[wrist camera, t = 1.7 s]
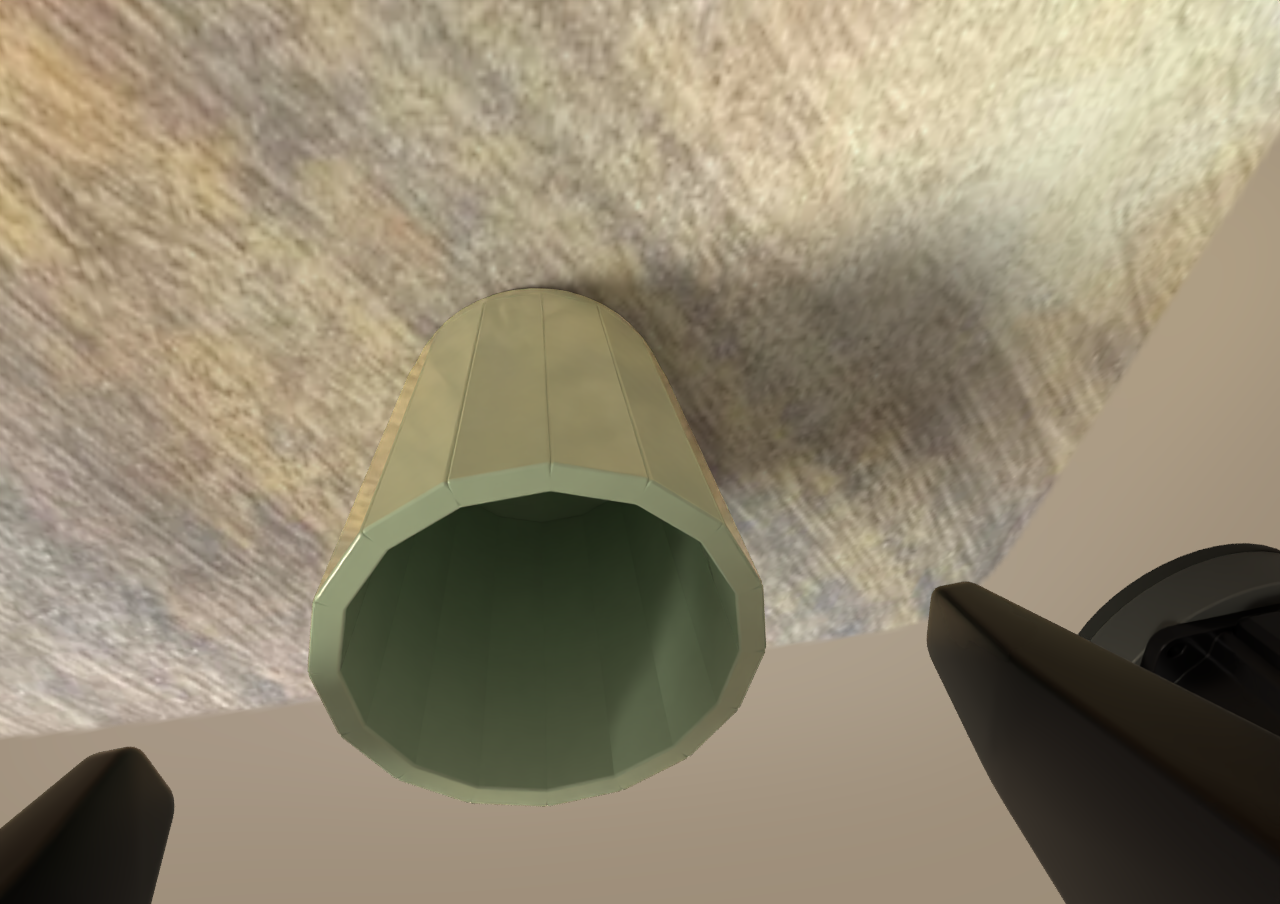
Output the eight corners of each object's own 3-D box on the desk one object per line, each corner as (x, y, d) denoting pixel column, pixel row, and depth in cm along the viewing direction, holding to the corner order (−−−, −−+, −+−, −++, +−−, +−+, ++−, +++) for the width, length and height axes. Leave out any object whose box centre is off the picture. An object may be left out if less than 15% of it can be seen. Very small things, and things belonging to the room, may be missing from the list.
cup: (678, 497, 16) (772, 760, 10) (447, 539, 15) (391, 841, 9) (651, 266, 13) (756, 425, 7) (372, 311, 13) (227, 520, 7)
